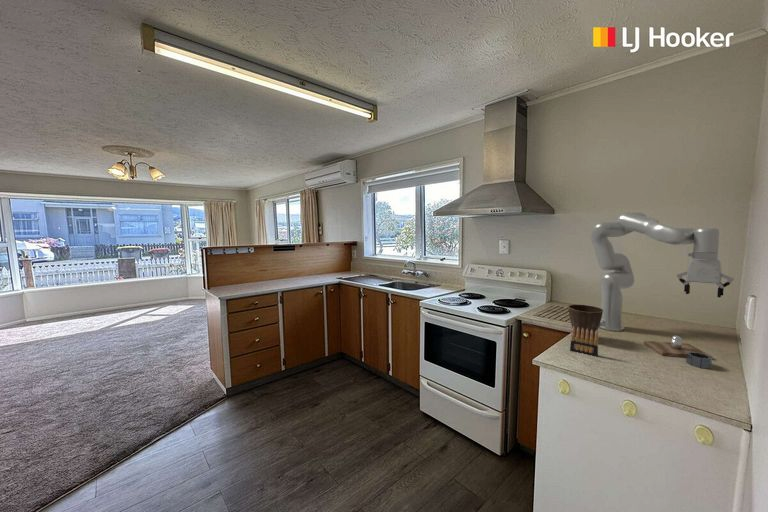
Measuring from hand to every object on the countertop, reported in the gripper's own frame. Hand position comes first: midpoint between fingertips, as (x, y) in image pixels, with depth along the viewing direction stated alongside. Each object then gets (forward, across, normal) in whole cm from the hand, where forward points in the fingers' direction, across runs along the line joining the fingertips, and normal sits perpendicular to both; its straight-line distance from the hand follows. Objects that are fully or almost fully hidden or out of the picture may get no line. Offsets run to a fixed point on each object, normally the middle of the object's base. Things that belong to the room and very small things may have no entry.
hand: (702, 295), depth 133 cm
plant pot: (+26, -40, -17) cm, 51 cm away
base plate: (+27, -8, -2) cm, 28 cm away
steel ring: (+28, +1, -12) cm, 30 cm away
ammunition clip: (+27, -32, -37) cm, 56 cm away
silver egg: (+26, -8, -2) cm, 27 cm away
